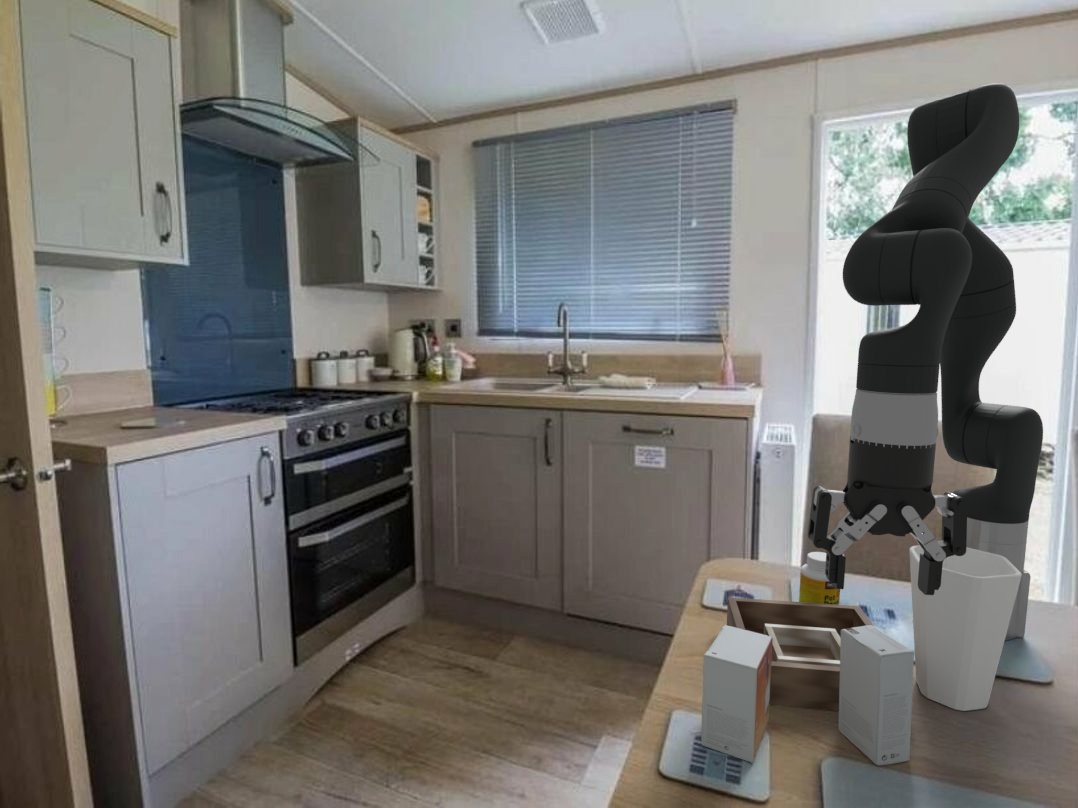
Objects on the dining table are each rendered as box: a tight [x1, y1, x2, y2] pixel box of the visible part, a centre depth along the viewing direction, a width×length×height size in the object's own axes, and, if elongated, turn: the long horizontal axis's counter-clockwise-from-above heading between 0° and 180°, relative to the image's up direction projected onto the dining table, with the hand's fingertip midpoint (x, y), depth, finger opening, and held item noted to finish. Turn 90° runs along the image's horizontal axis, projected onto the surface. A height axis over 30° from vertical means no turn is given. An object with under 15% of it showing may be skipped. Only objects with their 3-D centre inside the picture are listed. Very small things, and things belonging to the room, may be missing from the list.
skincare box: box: [838, 624, 915, 766], centre depth 65 cm, size 6×4×12 cm
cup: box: [908, 544, 1022, 712], centre depth 74 cm, size 11×10×17 cm
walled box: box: [726, 596, 876, 713], centre depth 81 cm, size 18×18×5 cm
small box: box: [700, 624, 773, 764], centre depth 67 cm, size 8×6×10 cm
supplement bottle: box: [798, 551, 841, 605], centre depth 93 cm, size 6×6×10 cm
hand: (880, 589), depth 64 cm, fingers open, 8 cm apart
